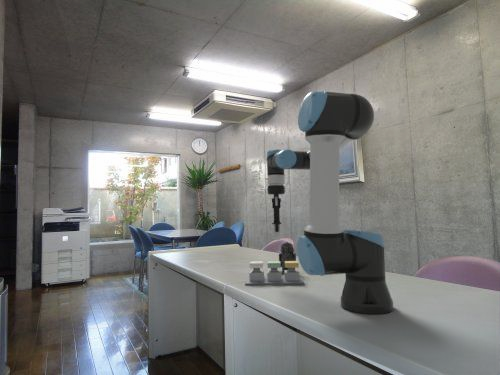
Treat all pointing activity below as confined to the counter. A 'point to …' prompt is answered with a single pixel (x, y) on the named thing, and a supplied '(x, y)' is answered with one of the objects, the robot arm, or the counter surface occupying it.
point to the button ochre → (291, 265)
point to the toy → (286, 255)
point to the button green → (274, 265)
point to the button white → (256, 266)
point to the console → (274, 278)
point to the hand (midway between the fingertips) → (277, 239)
